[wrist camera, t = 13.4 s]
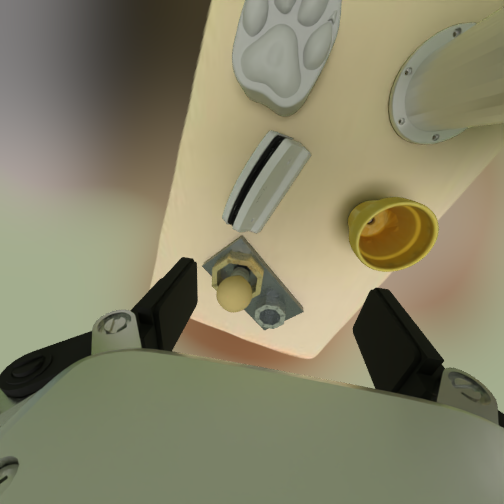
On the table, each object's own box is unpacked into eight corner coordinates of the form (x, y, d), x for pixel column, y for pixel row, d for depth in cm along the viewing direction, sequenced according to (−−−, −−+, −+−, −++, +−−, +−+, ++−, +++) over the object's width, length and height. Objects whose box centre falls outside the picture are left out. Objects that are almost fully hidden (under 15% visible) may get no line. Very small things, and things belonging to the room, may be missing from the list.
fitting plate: (242, 235, 41) (237, 244, 37) (302, 307, 47) (304, 321, 43) (204, 262, 45) (196, 273, 41) (264, 325, 51) (263, 340, 47)
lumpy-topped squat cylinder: (234, 90, 30) (218, 70, 23) (275, -34, 24) (272, -117, 17) (295, 124, 31) (300, 115, 24) (348, 12, 25) (378, -47, 18)
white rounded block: (259, 233, 40) (234, 244, 31) (241, 219, 41) (212, 225, 32) (313, 152, 33) (301, 136, 24) (289, 136, 33) (269, 116, 25)
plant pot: (414, 205, 34) (460, 223, 26) (373, 253, 39) (400, 283, 30) (361, 177, 33) (390, 187, 25) (326, 230, 38) (339, 254, 29)
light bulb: (238, 290, 45) (228, 324, 36) (220, 269, 43) (204, 300, 34) (262, 277, 43) (257, 310, 34) (243, 254, 41) (233, 283, 32)
